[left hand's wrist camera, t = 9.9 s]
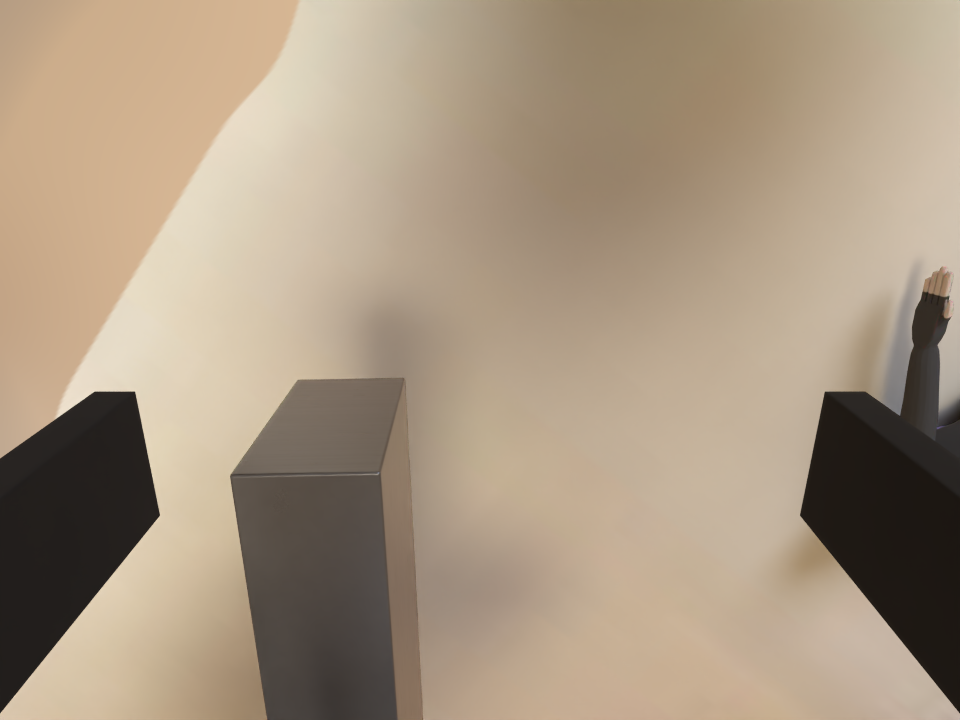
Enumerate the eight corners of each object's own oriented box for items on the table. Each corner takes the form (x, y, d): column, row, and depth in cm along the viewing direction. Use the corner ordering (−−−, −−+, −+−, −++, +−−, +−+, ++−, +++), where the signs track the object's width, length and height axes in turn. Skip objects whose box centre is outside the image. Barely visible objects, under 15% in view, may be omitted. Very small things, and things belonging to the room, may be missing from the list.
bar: (297, 379, 29) (228, 475, 21) (405, 377, 29) (380, 472, 21) (338, 761, 36) (300, 946, 28) (425, 758, 36) (413, 942, 28)
